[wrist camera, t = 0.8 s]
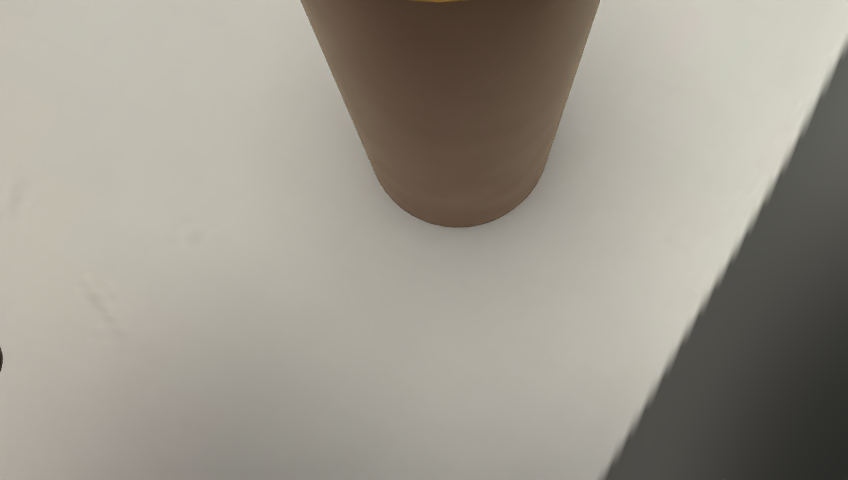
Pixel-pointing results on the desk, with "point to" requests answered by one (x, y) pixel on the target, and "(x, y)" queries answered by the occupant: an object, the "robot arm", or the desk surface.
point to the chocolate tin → (454, 94)
